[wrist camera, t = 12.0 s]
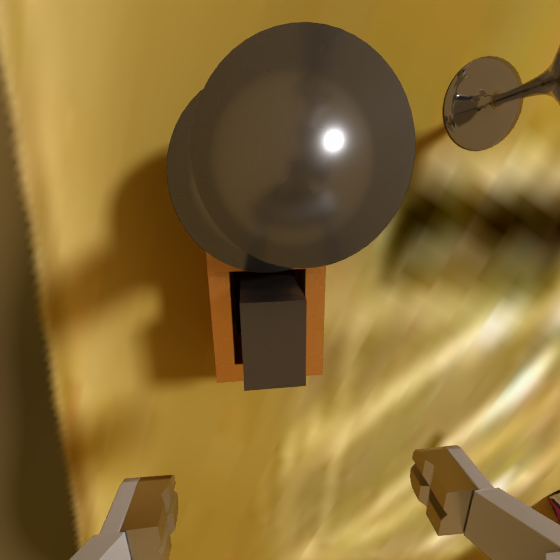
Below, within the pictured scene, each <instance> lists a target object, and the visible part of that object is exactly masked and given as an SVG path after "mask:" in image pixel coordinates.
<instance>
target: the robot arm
mask: <svg viewBox="0 0 560 560" xmlns="http://www.w3.org/2000/svg"><path fill="white" fill-rule="evenodd" d="M412 459H413V460H414V462H415V464H414V465H413V466H412V468H411V471H410V479H411V484H412V487H413V490H414V493H415V495H416V496H417V498H418V500H419V501H420V502H422V503H423V504H424V505H425V506H427V509H426V515H427V517H428V518H429V520H430V522H431V524H432V526H433V527H434V529H435V531H436V533H437V535H438V536H442V535H453V534H463V533H464V536H466V537H467V538H468V539H469V540H470V541H471V542H472V543H473V544H475V545H476V546H477V547H478V548H479V549H480V550H481V551H482V552H483V553H485V554H486V555H487V556H488V557H489V558H490V559H491V560H560V525H559V524H557V523H555V522H554V521H552V520H551V519H549V518H547V517H546V516H544V515H542V514H541V513H539V512H537V511H536V510H534V509H532V508H531V507H529V506H528V505H526V504H524V503H523V502H521V501H519V500H518V499H516V498H514V497H513V496H511V495H510V494H508V493H506V492H505V491H503V490H501V489H500V488H494V487H493V486H492V485H491V484H490V482H489V481H488V480H487V479H486V478H485V476H484V475H483V474H482V473H481V472H480V470H479V469H478V468H477V467H476V466H475V464H474V463H473V462H472V461H471V459H470V458H469V457H468V456H467V455H466V453H465V452H464V451H463V450H462V449H461V448H460V447H459V446H457V445H455V446H445V447H434V448H426V449H417V450H415V451H414V452H413V457H412ZM175 484H176V482H175V476H174V475H164V476H150V477H139V478H127V479H124V480H123V482H122V483H121V485H120V487H119V489H118V492H117V494H116V496H115V499H114V501H113V503H112V506H111V508H110V510H109V513H108V515H107V517H106V520H105V522H104V524H103V527H102V529H101V531H100V534H99V535H94V536H93V537H92V538H91V539H90V540H89V541H88V542H87V543H86V544H85V545H84V546H83V547H82V548H81V549H80V550H79V551H78V552H77V553H76V554H75V555H74V556H73V557H72V558H71V559H70V560H169V556H170V551H171V546H172V544H171V538H170V535H171V533H172V532H173V531H174V530H175V527H176V522H177V515H178V495H177V493H176V492H175V491H174V488H175Z"/></svg>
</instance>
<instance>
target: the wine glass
mask: <svg viewBox="0 0 560 560" xmlns="http://www.w3.org/2000/svg"><path fill="white" fill-rule="evenodd" d="M536 95H549V96H552V97H554V99H555V100H556V101H557V102H558V103H559V105H560V46H559V48H558V50H557V53H556V55H555V57H554V59H553V62H552V64H551V65H550V66H549V67H548V68H547V69H546V70H545V71H544V72H543V73H542V74H540V75H539V76H537V77H535V78H534V79H532V80H530V81H528V82H526V83H524V84H522V82H521V78H520V76H519V74H518V72H517V71H516V69H515V68H514V66H512V65H511V64H510V63H509V62H508V61H506V60H504V59H502V58H499V57H494V56H487V57H481V58H478V59H475V60H473V61H472V62H470V63H468V64H467V65H466V66H464V67H463V68H462V69H461V70H460V71H459V72H458V73H457V75H456V76H455V77H454V79H453V81H452V82H451V84H450V86H449V88H448V90H447V94H446V97H445V102H444V122H445V126H446V129H447V131H448V133H449V135H450V137H451V138H452V139H453V140H454V142H455V143H457V144H458V145H459V146H461V147H463V148H465V149H468V150H473V151H479V150H485V149H488V148H491V147H493V146H495V145H496V144H498V143H499V142H501V141H502V140H503V139H504V138H505V137H506V136H507V135H508V134H509V133H510V132H511V130H512V129H513V127H514V126H515V124H516V122H517V120H518V118H519V115H520V113H521V109H522V104H523V98H525V97H530V96H536Z"/></svg>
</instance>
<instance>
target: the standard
mask: <svg viewBox="0 0 560 560" xmlns="http://www.w3.org/2000/svg"><path fill="white" fill-rule="evenodd" d="M414 159H415V130H414V123H413V118H412V112H411V109H410V106H409V102H408V99H407V96H406V94H405V92H404V90H403V88H402V85H401V83H400V81H399V80H398V78H397V76H396V75H395V73H394V72H393V70H392V69H391V67H390V66H389V65H388V64H387V62H386V61H385V60H384V59H383V58H382V56H381V55H380V54H379V53H377V52H376V51H375V50H374V49H373V48H372V47H371V46H370V45H368V44H367V43H366V42H364V41H362V40H361V39H359V38H358V37H356V36H355V35H353V34H351V33H348V32H346V31H344V30H342V29H340V28H336V27H333V26H329V25H326V24H319V23H311V22H301V23H289V24H284V25H279V26H275V27H272V28H269V29H266V30H264V31H261V32H259V33H257V34H255V35H254V36H252V37H250V38H248V39H246V40H245V41H243V42H242V43H241V44H240V45H238V46H237V47H236V48H234V49H233V50H232V51H231V52H230V53H229V54H228V55H227V56H226V57H225V58H224V59H223V60H222V61H221V62H220V63H219V65H218V66H217V68H216V69H215V70H214V72H213V73H212V75H211V76H210V78H209V79H208V81H207V83H206V85H205V87H204V89H203V90H201V91H200V92H199V93H198V94H197V95H196V96H195V97H194V98H193V99H192V100H191V101H190V103H189V104H188V105H187V107H186V108H185V110H184V111H183V112H182V114H181V116H180V118H179V120H178V122H177V124H176V126H175V128H174V131H173V134H172V137H171V140H170V144H169V149H168V155H167V182H168V188H169V193H170V197H171V200H172V203H173V206H174V209H175V211H176V213H177V215H178V218H179V220H180V221H181V223H182V225H183V226H184V228H185V229H186V231H187V232H188V233H189V235H190V236H191V237H192V238H193V240H194V241H195V242H196V243H197V244H198V245H199V246H200V247H201V248H202V249H203V250H205V251H206V260H207V272H208V284H209V295H210V307H211V319H212V331H213V342H214V354H215V366H216V378H217V382H230V381H244V374H243V356H242V338H241V333H237V327H236V311H235V294H234V278H233V271H251V272H257V273H272V272H281V271H285V270H289V269H294V278H295V280H296V282H297V283H298V285H299V287H300V289H301V291H302V292H303V294H304V296H305V298H306V300H307V315H306V376H309V375H322V374H323V341H324V307H325V274H326V265H329V264H333V263H336V262H338V261H341V260H344V259H346V258H348V257H350V256H352V255H353V254H355V253H357V252H358V251H360V250H361V249H363V248H364V247H366V246H367V245H368V244H369V243H371V242H372V241H373V240H374V239H375V238H376V237H377V236H378V235H379V234H380V233H381V232H382V231H383V230H384V229H385V228H386V226H387V225H388V224H389V222H390V221H391V220H392V218H393V217H394V215H395V214H396V212H397V210H398V208H399V207H400V205H401V203H402V201H403V199H404V196H405V194H406V191H407V189H408V186H409V182H410V179H411V175H412V171H413V165H414Z"/></svg>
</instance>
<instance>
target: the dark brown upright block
mask: <svg viewBox="0 0 560 560" xmlns="http://www.w3.org/2000/svg"><path fill="white" fill-rule="evenodd" d="M306 315H307V300H306V298H305V296H304V294H303V292H302V291H301V289H300V287H299V285H298V283H297V282H296V280H295V278H294V276H293V274H292V273H291V271H290V269H289V270H285V271H281V272H272V273H257V272H251V271H241V287H240V320H241V338H242V356H243V374H244V391H247V390H260V389H272V388H285V387H297V386H306Z"/></svg>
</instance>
